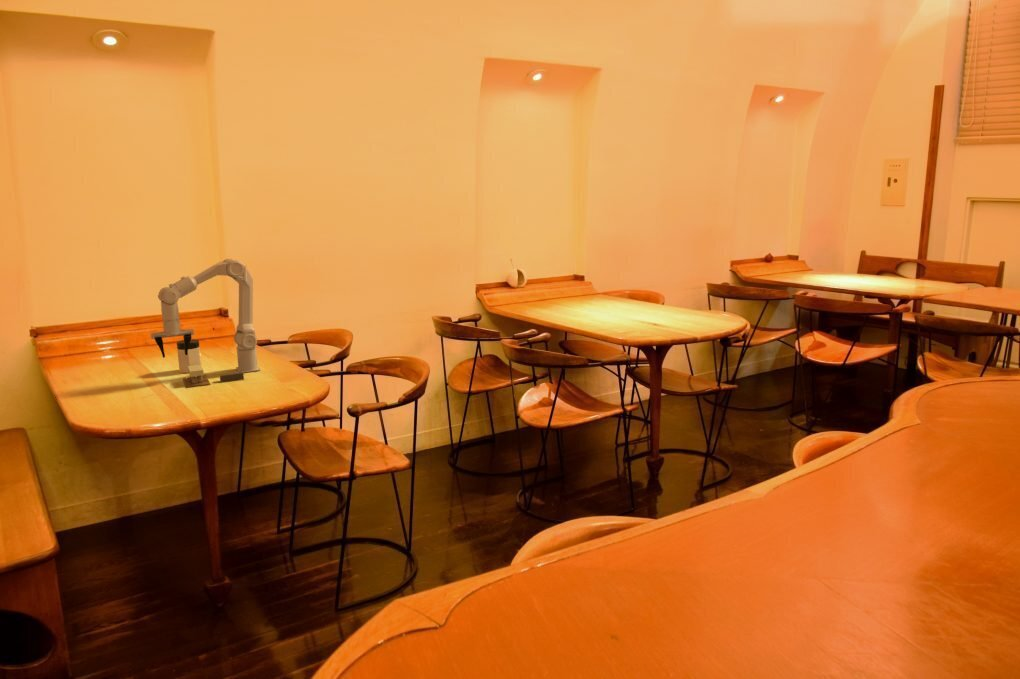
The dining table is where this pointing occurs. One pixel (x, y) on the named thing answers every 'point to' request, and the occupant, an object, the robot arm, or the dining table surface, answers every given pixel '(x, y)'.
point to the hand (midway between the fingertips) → (175, 355)
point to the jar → (192, 356)
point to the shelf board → (195, 370)
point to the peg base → (196, 381)
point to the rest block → (231, 376)
